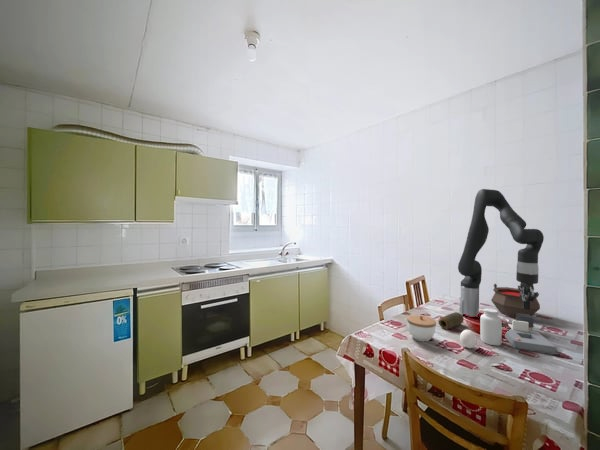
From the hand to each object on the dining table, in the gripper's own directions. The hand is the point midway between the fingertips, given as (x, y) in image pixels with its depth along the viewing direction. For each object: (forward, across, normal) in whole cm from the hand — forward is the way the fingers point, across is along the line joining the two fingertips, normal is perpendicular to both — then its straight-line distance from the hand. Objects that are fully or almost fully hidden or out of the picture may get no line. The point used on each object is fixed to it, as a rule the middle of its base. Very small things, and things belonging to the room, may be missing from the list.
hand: (526, 308), depth 117 cm
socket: (+16, 0, 0) cm, 16 cm away
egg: (+16, +15, -26) cm, 34 cm away
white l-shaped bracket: (+13, -9, 0) cm, 15 cm away
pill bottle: (+16, +5, -15) cm, 23 cm away
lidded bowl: (+16, +13, -45) cm, 50 cm away
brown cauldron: (+16, -43, +10) cm, 47 cm away
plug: (+16, -16, +5) cm, 23 cm away
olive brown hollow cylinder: (+16, -8, -29) cm, 34 cm away
